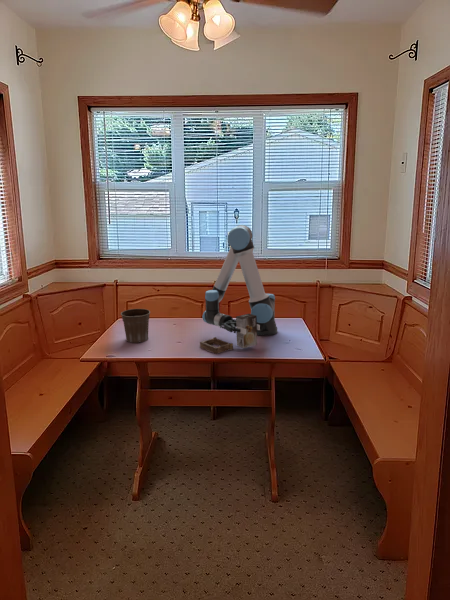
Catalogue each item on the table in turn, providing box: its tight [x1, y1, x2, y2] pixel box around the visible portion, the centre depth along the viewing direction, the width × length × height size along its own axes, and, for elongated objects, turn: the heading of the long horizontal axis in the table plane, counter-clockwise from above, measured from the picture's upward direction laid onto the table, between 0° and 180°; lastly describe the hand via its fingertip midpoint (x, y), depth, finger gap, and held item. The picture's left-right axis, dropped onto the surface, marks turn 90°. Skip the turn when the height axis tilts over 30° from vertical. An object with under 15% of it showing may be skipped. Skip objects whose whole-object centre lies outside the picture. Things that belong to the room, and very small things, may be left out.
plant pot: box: [120, 308, 151, 344], centre depth 248 cm, size 16×16×16 cm
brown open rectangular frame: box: [199, 336, 234, 355], centre depth 234 cm, size 11×15×3 cm
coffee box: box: [235, 313, 258, 349], centre depth 231 cm, size 9×6×16 cm
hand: (252, 329), depth 227 cm, fingers closed on coffee box, 9 cm apart
